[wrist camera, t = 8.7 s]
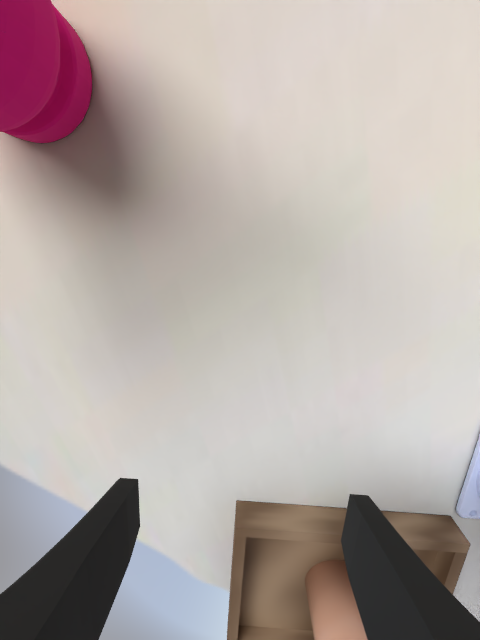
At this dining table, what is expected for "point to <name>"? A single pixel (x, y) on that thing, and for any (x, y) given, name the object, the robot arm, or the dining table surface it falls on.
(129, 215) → the dining table surface
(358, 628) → the terracotta shaker
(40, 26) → the pepper mill
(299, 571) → the walnut tray
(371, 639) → the robot arm
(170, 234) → the dining table surface
